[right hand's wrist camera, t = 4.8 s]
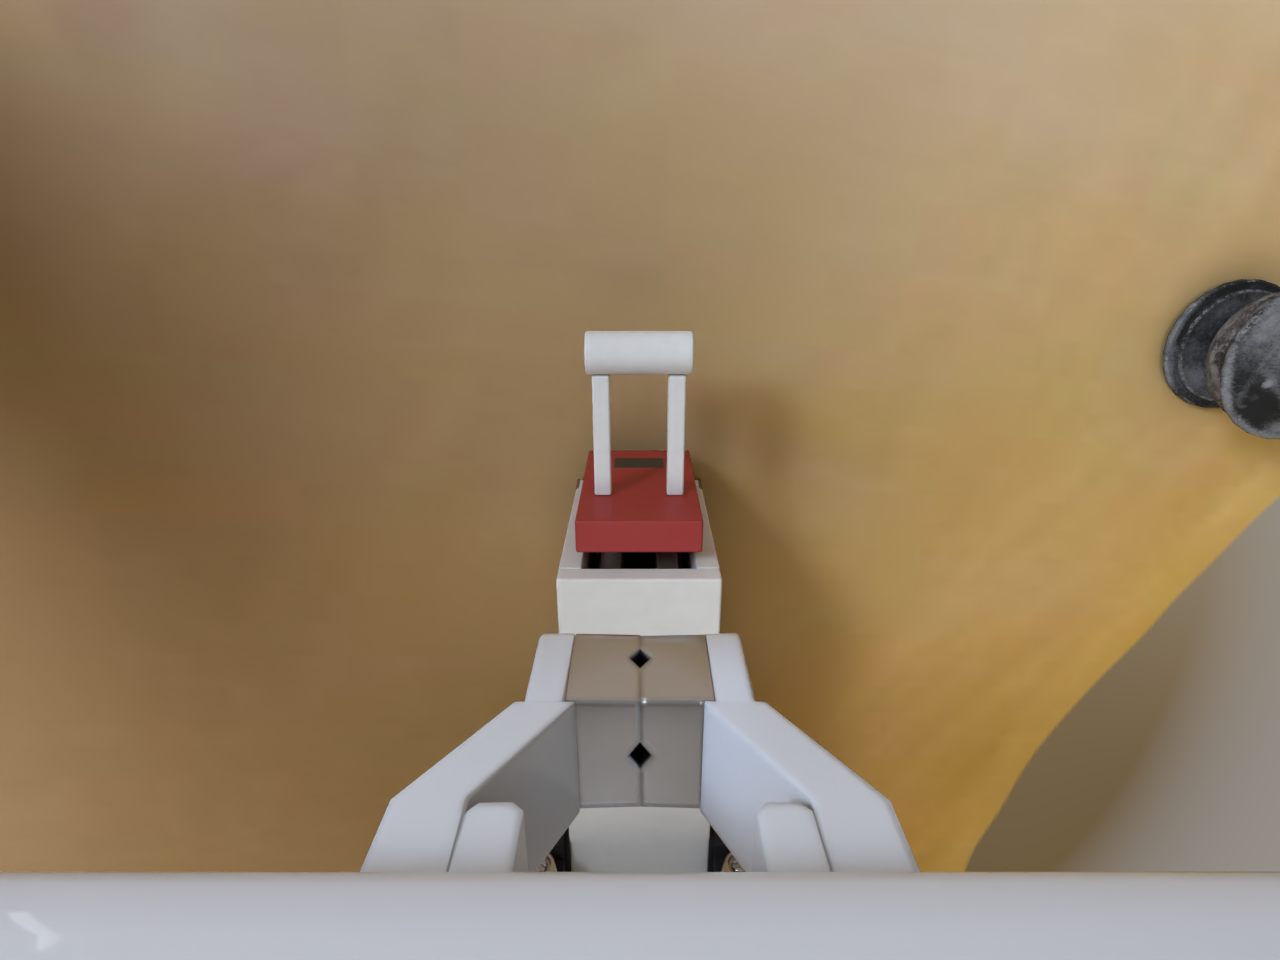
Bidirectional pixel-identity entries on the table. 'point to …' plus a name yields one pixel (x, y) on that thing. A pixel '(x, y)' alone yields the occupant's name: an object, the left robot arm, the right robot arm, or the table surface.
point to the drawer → (639, 460)
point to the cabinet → (645, 610)
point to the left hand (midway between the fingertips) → (639, 797)
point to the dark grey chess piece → (1230, 354)
